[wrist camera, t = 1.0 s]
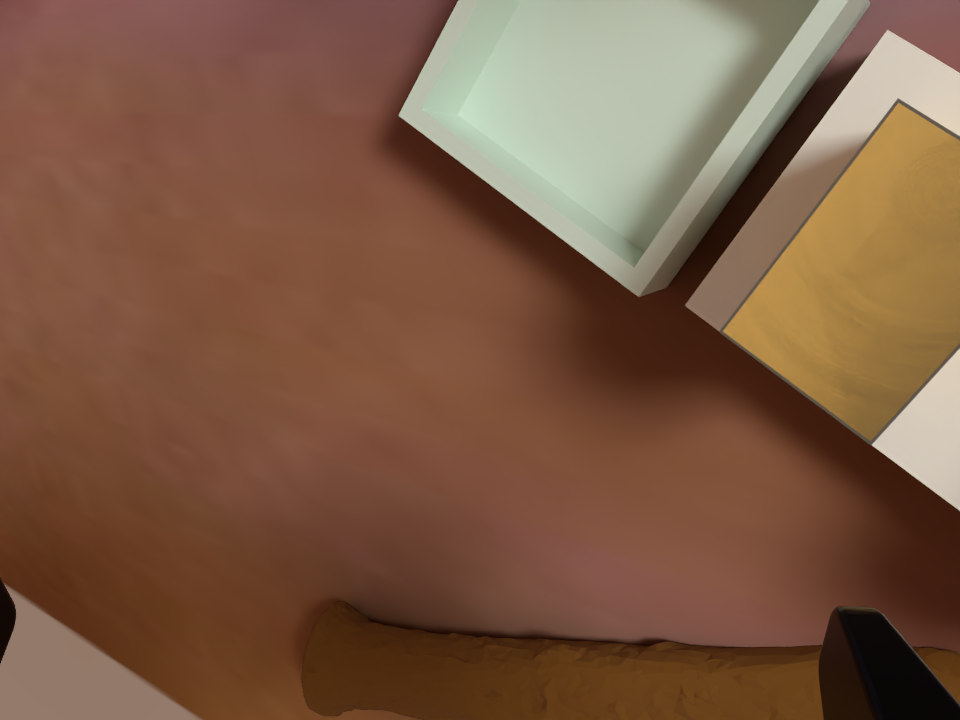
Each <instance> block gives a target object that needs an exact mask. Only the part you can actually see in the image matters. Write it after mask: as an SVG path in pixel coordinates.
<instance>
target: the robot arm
mask: <svg viewBox="0 0 960 720" xmlns="http://www.w3.org/2000/svg"><path fill="white" fill-rule="evenodd" d="M15 620H16V609H15V605H14V602H13V600H12V598H11V597H10V595H9V593H8V591H7V589H6V587H5V585H4V584H3V582H2V580H1V578H0V663H1V661H2V658H3V655H4V653H5V650H6V647H7V645H8V642H9V640H10V637H11V634H12V632H13V629H14V625H15ZM818 672H819V685H820V693H821V701H822V710H823V718H824V720H960V704H959V703H958V701H957V700H956V699H955V698H954V697H953V696H952V694H951V693H950V692H949V691H948V690H947V688H946V687H945V686H944V685H943V684H942V683H941V681H940V680H939V679H938V678H937V677H936V675H935V674H934V673H933V672H932V671H931V670H930V668H929V667H928V666H927V665H926V664H925V662H924V661H923V660H922V659H921V658H920V657H919V655H918V654H917V653H916V652H915V651H914V649H913V648H912V647H911V646H910V645H909V644H908V642H907V641H906V640H905V639H904V638H903V636H902V635H901V634H900V633H899V632H898V631H897V629H896V628H895V627H894V626H893V625H892V623H891V622H890V621H889V620H888V619H887V618H886V616H885V615H884V614H883V613H881V612H880V611H879V610H877V609H875V608H870V607H852V606H838V607H836V608H835V609H834V610H833V612H832V613H831V616H830V620H829V623H828V627H827V630H826V634H825V638H824V641H823V645H822V649H821V652H820V656H819V667H818Z"/></svg>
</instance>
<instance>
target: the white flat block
mask: <svg viewBox="0 0 960 720" xmlns="http://www.w3.org/2000/svg"><path fill="white" fill-rule="evenodd" d="M898 98H899V99H900V100H902V101H903V102H905V103H907V104H908V105H910V106H912V107H913V108H915V109H916V110H918V111H920V112H921V113H923V114H924V115H926V116H928V117H929V118H931V119H933V120H934V121H936V122H937V123H939V124H941V125H942V126H944V127H945V128H947V129H949V130H950V131H952V132H954V133H955V134H957V135H958V136H960V73H959V72H957V71H955V70H954V69H952V68H950V67H949V66H947V65H945V64H944V63H942V62H940V61H939V60H937V59H935V58H934V57H932V56H930V55H929V54H927V53H925V52H924V51H922V50H920V49H919V48H917V47H915V46H914V45H912V44H910V43H909V42H907V41H905V40H904V39H902V38H900V37H899V36H897V35H895V34H894V33H892V32H890V31H888V30H887V32H886V33H885V34H884V36H883V37H882V38H881V40H880V41H879V42H878V44H877V45H876V46H875V48H874V49H873V51H872V52H871V53H870V55H869V56H868V57H867V59H866V60H865V61H864V63H863V64H862V65H861V67H860V68H859V70H858V71H857V72H856V74H855V75H854V76H853V78H852V79H851V80H850V82H849V83H848V84H847V86H846V87H845V89H844V90H843V91H842V93H841V94H840V95H839V97H838V98H837V99H836V101H835V102H834V103H833V105H832V106H831V108H830V109H829V110H828V112H827V113H826V114H825V116H824V117H823V118H822V120H821V121H820V123H819V124H818V125H817V127H816V128H815V129H814V131H813V132H812V133H811V135H810V136H809V137H808V139H807V140H806V142H805V143H804V144H803V146H802V147H801V148H800V150H799V151H798V152H797V154H796V155H795V156H794V158H793V159H792V161H791V162H790V163H789V165H788V166H787V167H786V169H785V170H784V171H783V173H782V174H781V175H780V177H779V178H778V180H777V181H776V182H775V184H774V185H773V186H772V188H771V189H770V190H769V192H768V193H767V194H766V196H765V197H764V199H763V200H762V201H761V203H760V204H759V205H758V207H757V208H756V209H755V211H754V212H753V213H752V215H751V216H750V218H749V219H748V220H747V222H746V223H745V224H744V226H743V227H742V228H741V230H740V231H739V232H738V234H737V235H736V237H735V238H734V239H733V241H732V242H731V243H730V245H729V246H728V247H727V249H726V250H725V252H724V253H723V254H722V256H721V257H720V258H719V260H718V261H717V262H716V264H715V265H714V266H713V268H712V269H711V271H710V272H709V273H708V275H707V276H706V277H705V279H704V280H703V281H702V283H701V284H700V285H699V287H698V288H697V290H696V291H695V292H694V294H693V295H692V296H691V298H690V299H689V300H688V302H687V303H686V304H685V306H686V307H687V308H688V309H690V310H691V311H692V312H694V313H695V314H696V315H698V316H699V317H700V318H702V319H703V320H705V321H706V322H707V323H709V324H710V325H711V326H713V327H714V328H715V329H717V330H718V331H720V330H721V328H722V327H723V326H724V324H725V323H726V322H727V321H728V319H729V318H730V317H731V315H732V314H733V313H734V311H735V310H736V309H737V308H738V306H739V305H740V304H741V302H742V301H743V300H744V298H745V297H746V296H747V294H748V293H749V292H750V291H751V289H752V288H753V287H754V285H755V284H756V283H757V281H758V280H759V279H760V278H761V276H762V275H763V274H764V272H765V271H766V270H767V268H768V267H769V266H770V264H771V263H772V262H773V261H774V259H775V258H776V257H777V255H778V254H779V253H780V251H781V250H782V249H783V248H784V246H785V245H786V244H787V242H788V241H789V240H790V238H791V237H792V236H793V234H794V233H795V232H796V231H797V229H798V228H799V227H800V225H801V224H802V223H803V221H804V220H805V219H806V218H807V216H808V215H809V214H810V212H811V211H812V210H813V208H814V207H815V206H816V205H817V203H818V202H819V201H820V199H821V198H822V197H823V195H824V194H825V193H826V191H827V190H828V189H829V188H830V186H831V185H832V184H833V182H834V181H835V180H836V178H837V177H838V176H839V175H840V173H841V172H842V171H843V169H844V168H845V167H846V165H847V164H848V163H849V161H850V160H851V159H852V158H853V156H854V155H855V154H856V152H857V151H858V150H859V148H860V147H861V146H862V145H863V143H864V142H865V141H866V139H867V138H868V137H869V135H870V134H871V133H872V131H873V130H874V129H875V128H876V126H877V125H878V124H879V122H880V121H881V120H882V118H883V117H884V116H885V115H886V113H887V112H888V111H889V109H890V108H891V107H892V105H893V104H894V103H895V101H896V100H897V99H898ZM872 446H873V447H875V448H876V449H877V450H879V451H880V452H881V453H883V454H884V455H885V456H887V457H888V458H889V459H891V460H892V461H894V462H895V463H896V464H898V465H899V466H900V467H902V468H903V469H904V470H906V471H907V472H908V473H910V474H911V475H912V476H914V477H915V478H916V479H918V480H919V481H920V482H922V483H923V484H924V485H926V486H927V487H928V488H930V489H931V490H932V491H934V492H935V493H936V494H938V495H939V496H940V497H942V498H943V499H944V500H946V501H947V502H948V503H950V504H951V505H952V506H954V507H955V508H957V509H958V510H959V511H960V349H959V350H958V351H957V352H956V353H955V354H954V355H953V356H952V357H951V359H950V360H949V361H948V362H947V363H946V364H945V365H944V366H943V367H942V368H941V370H940V371H939V372H938V373H937V374H936V375H935V376H934V377H933V378H932V379H931V380H930V382H929V383H928V384H927V385H926V386H925V387H924V388H923V389H922V390H921V391H920V393H919V394H918V395H917V396H916V397H915V398H914V399H913V400H912V401H911V402H910V404H909V405H908V406H907V407H906V408H905V409H904V410H903V411H902V412H901V413H900V414H899V416H898V417H897V418H896V419H895V420H894V421H893V422H892V423H891V424H890V425H889V427H888V428H887V429H886V430H885V431H884V432H883V433H882V434H881V435H880V436H879V437H878V439H877V440H876V441H875V442H874V443H873V444H872Z"/></svg>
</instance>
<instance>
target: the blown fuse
mask: <svg viewBox="0 0 960 720" xmlns="http://www.w3.org/2000/svg"><path fill="white" fill-rule="evenodd" d="M719 333H721V334H722V335H723V336H725V337H726V338H727V339H729V340H730V341H731V342H733V343H734V344H736V345H737V346H738V347H740V348H741V349H742V350H744V351H745V352H746V353H748V354H749V355H750V356H752V357H753V358H754V359H756V360H757V361H758V362H760V363H761V364H762V365H764V366H765V367H766V368H768V369H769V370H770V371H772V372H773V373H774V374H776V375H777V376H778V377H780V378H781V379H782V380H784V381H785V382H786V383H788V384H789V385H790V386H792V387H793V388H794V389H796V390H797V391H798V392H800V393H801V394H803V395H804V396H805V397H807V398H808V399H809V400H811V401H812V402H813V403H815V404H816V405H817V406H819V407H820V408H821V409H823V410H824V411H825V412H827V413H828V414H829V415H831V416H832V417H833V418H835V419H836V420H837V421H839V422H840V423H841V424H843V425H844V426H845V427H847V428H848V429H849V430H851V431H852V432H853V433H855V434H856V435H857V436H859V437H860V438H861V439H863V440H864V441H865V442H867V443H868V444H869V445H872V444H873V443H874V442H875V441H876V440H877V439H878V437H879V436H880V435H881V434H882V433H883V432H884V431H885V430H886V429H887V428H888V427H889V425H890V424H891V423H892V422H893V421H894V420H895V419H896V418H897V417H898V416H899V414H900V413H901V412H902V411H903V410H904V409H905V408H906V407H907V406H908V405H909V404H910V402H911V401H912V400H913V399H914V398H915V397H916V396H917V395H918V394H919V393H920V391H921V390H922V389H923V388H924V387H925V386H926V385H927V384H928V383H929V382H930V380H931V379H932V378H933V377H934V376H935V375H936V374H937V373H938V372H939V371H940V370H941V368H942V367H943V366H944V365H945V364H946V363H947V362H948V361H949V360H950V359H951V357H952V356H953V355H954V354H955V353H956V352H957V351H958V350H959V349H960V136H958V135H957V134H955V133H954V132H952V131H950V130H949V129H947V128H945V127H944V126H942V125H941V124H939V123H937V122H936V121H934V120H933V119H931V118H929V117H928V116H926V115H924V114H923V113H921V112H920V111H918V110H916V109H915V108H913V107H912V106H910V105H908V104H907V103H905V102H903V101H902V100H900V99H899V98H898V99H897V100H896V101H895V103H894V104H893V105H892V107H891V108H890V109H889V111H888V112H887V113H886V115H885V116H884V117H883V118H882V120H881V121H880V122H879V124H878V125H877V126H876V128H875V129H874V130H873V131H872V133H871V134H870V135H869V137H868V138H867V139H866V141H865V142H864V143H863V145H862V146H861V147H860V148H859V150H858V151H857V152H856V154H855V155H854V156H853V158H852V159H851V160H850V161H849V163H848V164H847V165H846V167H845V168H844V169H843V171H842V172H841V173H840V175H839V176H838V177H837V178H836V180H835V181H834V182H833V184H832V185H831V186H830V188H829V189H828V190H827V191H826V193H825V194H824V195H823V197H822V198H821V199H820V201H819V202H818V203H817V205H816V206H815V207H814V208H813V210H812V211H811V212H810V214H809V215H808V216H807V218H806V219H805V220H804V221H803V223H802V224H801V225H800V227H799V228H798V229H797V231H796V232H795V233H794V234H793V236H792V237H791V238H790V240H789V241H788V242H787V244H786V245H785V246H784V248H783V249H782V250H781V251H780V253H779V254H778V255H777V257H776V258H775V259H774V261H773V262H772V263H771V264H770V266H769V267H768V268H767V270H766V271H765V272H764V274H763V275H762V276H761V278H760V279H759V280H758V281H757V283H756V284H755V285H754V287H753V288H752V289H751V291H750V292H749V293H748V294H747V296H746V297H745V298H744V300H743V301H742V302H741V304H740V305H739V306H738V308H737V309H736V310H735V311H734V313H733V314H732V315H731V317H730V318H729V319H728V321H727V322H726V323H725V324H724V326H723V327H722V328H721V330H720V331H719Z"/></svg>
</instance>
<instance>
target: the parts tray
mask: <svg viewBox="0 0 960 720" xmlns="http://www.w3.org/2000/svg"><path fill="white" fill-rule="evenodd" d="M870 5H871V4H870V2H869V0H458V2H457V4H456V6H455V8H454V10H453V12H452V14H451V15H450V17H449V19H448V21H447V23H446V25H445V27H444V29H443V31H442V33H441V35H440V37H439V38H438V40H437V42H436V44H435V46H434V48H433V50H432V52H431V54H430V56H429V58H428V60H427V62H426V63H425V65H424V67H423V69H422V71H421V73H420V75H419V77H418V79H417V81H416V83H415V85H414V86H413V88H412V90H411V92H410V94H409V96H408V98H407V100H406V102H405V104H404V106H403V108H402V109H401V111H400V113H399V115H398V116H400V117H401V118H402V119H404V120H405V121H406V122H408V123H409V124H410V125H411V126H413V127H414V128H415V129H417V130H418V131H419V132H421V133H422V134H423V135H425V136H426V137H427V138H429V139H430V140H431V141H433V142H434V143H435V144H437V145H438V146H439V147H441V148H442V149H443V150H445V151H446V152H447V153H449V154H450V155H451V156H453V157H454V158H455V159H456V160H458V161H459V162H460V163H462V164H463V165H464V166H466V167H467V168H468V169H470V170H471V171H472V172H474V173H475V174H476V175H478V176H479V177H480V178H482V179H483V180H484V181H486V182H487V183H488V184H490V185H491V186H492V187H494V188H495V189H496V190H497V191H499V192H500V193H501V194H503V195H504V196H505V197H507V198H508V199H509V200H511V201H512V202H513V203H515V204H516V205H517V206H519V207H520V208H521V209H523V210H524V211H525V212H527V213H528V214H529V215H531V216H532V217H533V218H535V219H536V220H537V221H538V222H540V223H541V224H542V225H544V226H545V227H546V228H548V229H549V230H550V231H552V232H553V233H554V234H556V235H557V236H558V237H560V238H561V239H562V240H564V241H565V242H566V243H568V244H569V245H570V246H572V247H573V248H574V249H576V250H577V251H578V252H579V253H581V254H582V255H583V256H585V257H586V258H587V259H589V260H590V261H591V262H593V263H594V264H595V265H597V266H598V267H599V268H601V269H602V270H603V271H605V272H606V273H607V274H609V275H610V276H611V277H613V278H614V279H615V280H617V281H618V282H619V283H621V284H622V285H623V286H624V287H626V288H627V289H628V290H630V291H631V292H632V293H634V294H635V295H636V296H638V297H641V296H644V295H647V294H650V293H653V292H656V291H659V290H662V289H664V288H667V287H668V286H669V284H670V283H671V282H672V280H673V279H674V277H675V276H676V275H677V273H678V272H679V270H680V269H681V268H682V266H683V265H684V263H685V262H686V261H687V259H688V258H689V256H690V255H691V254H692V252H693V251H694V250H695V248H696V247H697V245H698V244H699V243H700V241H701V240H702V238H703V237H704V236H705V234H706V233H707V231H708V230H709V229H710V227H711V226H712V225H713V223H714V222H715V220H716V219H717V218H718V216H719V215H720V213H721V212H722V211H723V209H724V208H725V206H726V205H727V204H728V202H729V201H730V200H731V198H732V197H733V195H734V194H735V193H736V191H737V190H738V188H739V187H740V186H741V184H742V183H743V181H744V180H745V179H746V177H747V176H748V174H749V173H750V172H751V170H752V169H753V168H754V166H755V165H756V163H757V162H758V161H759V159H760V158H761V156H762V155H763V154H764V152H765V151H766V149H767V148H768V147H769V145H770V144H771V143H772V141H773V140H774V138H775V137H776V136H777V134H778V133H779V131H780V130H781V129H782V127H783V126H784V124H785V123H786V122H787V120H788V119H789V117H790V116H791V115H792V113H793V112H794V111H795V109H796V108H797V106H798V105H799V104H800V102H801V101H802V99H803V98H804V97H805V95H806V94H807V92H808V91H809V90H810V88H811V87H812V86H813V84H814V83H815V81H816V80H817V79H818V77H819V76H820V74H821V73H822V72H823V70H824V69H825V67H826V66H827V65H828V63H829V62H830V61H831V59H832V58H833V56H834V55H835V54H836V52H837V51H838V49H839V48H840V47H841V45H842V44H843V42H844V41H845V40H846V38H847V37H848V35H849V34H850V33H851V31H852V30H853V29H854V27H855V26H856V24H857V23H858V22H859V20H860V19H861V17H862V16H863V15H864V13H865V12H866V10H867V9H868V8H869V6H870Z"/></svg>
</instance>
